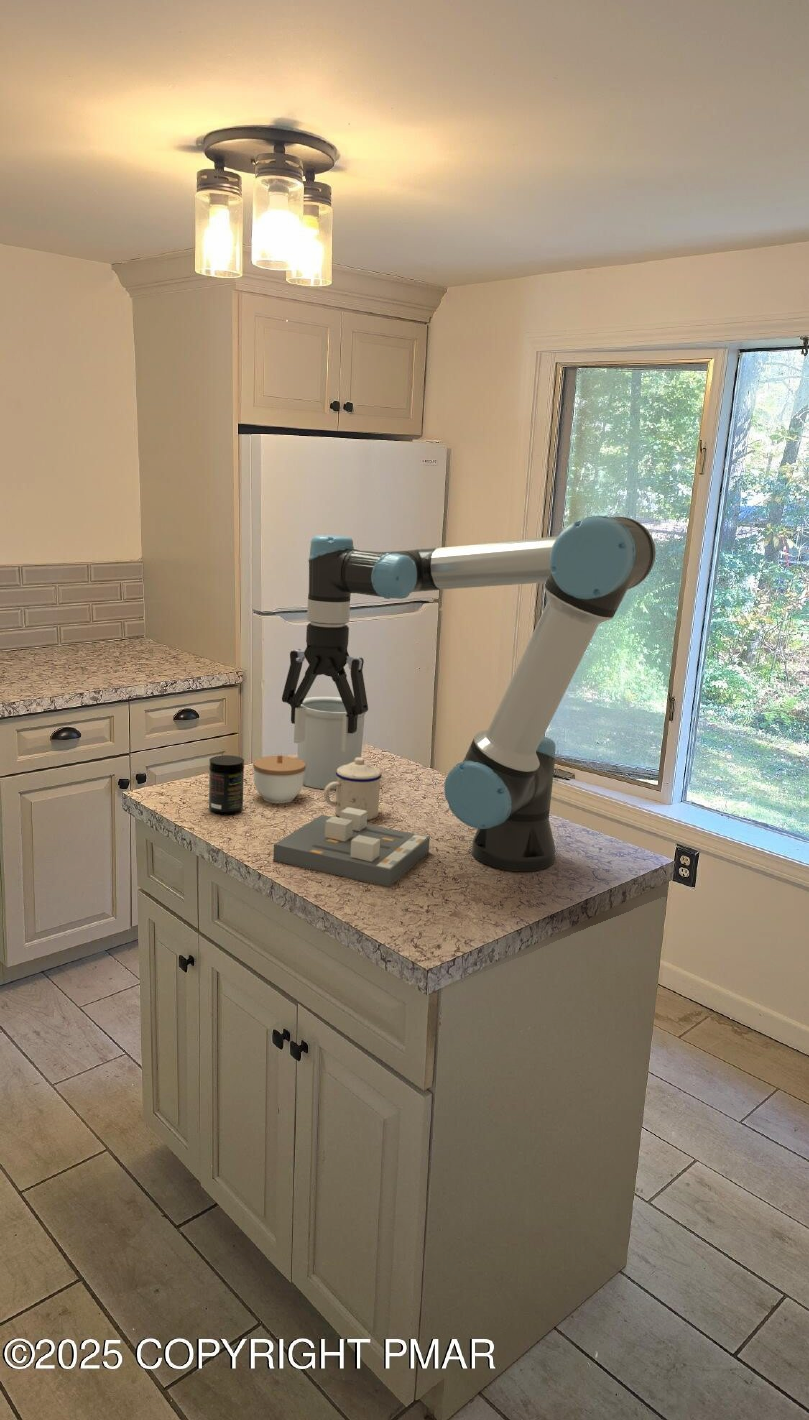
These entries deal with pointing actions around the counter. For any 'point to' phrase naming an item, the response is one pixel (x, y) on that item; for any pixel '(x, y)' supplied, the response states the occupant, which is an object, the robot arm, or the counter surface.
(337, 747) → the utensil holder
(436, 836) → the counter surface
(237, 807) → the supplement container
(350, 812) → the back switch
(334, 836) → the middle switch
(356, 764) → the teacup with lid
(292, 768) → the lidded jar
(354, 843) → the front switch
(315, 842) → the switch panel
